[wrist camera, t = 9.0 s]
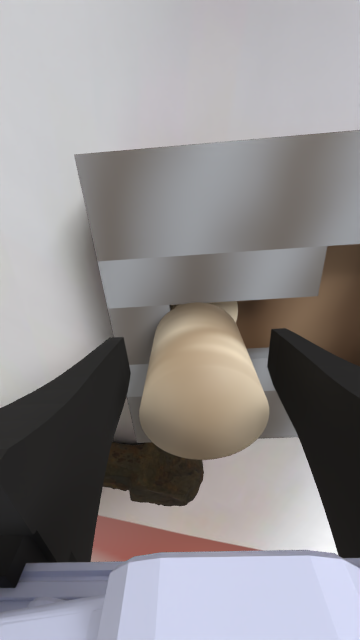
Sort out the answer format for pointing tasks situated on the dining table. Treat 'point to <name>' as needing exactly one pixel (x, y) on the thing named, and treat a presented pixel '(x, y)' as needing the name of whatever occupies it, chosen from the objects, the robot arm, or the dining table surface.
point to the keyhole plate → (230, 244)
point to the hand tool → (153, 474)
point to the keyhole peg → (202, 384)
